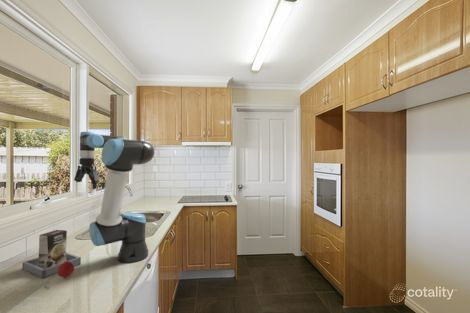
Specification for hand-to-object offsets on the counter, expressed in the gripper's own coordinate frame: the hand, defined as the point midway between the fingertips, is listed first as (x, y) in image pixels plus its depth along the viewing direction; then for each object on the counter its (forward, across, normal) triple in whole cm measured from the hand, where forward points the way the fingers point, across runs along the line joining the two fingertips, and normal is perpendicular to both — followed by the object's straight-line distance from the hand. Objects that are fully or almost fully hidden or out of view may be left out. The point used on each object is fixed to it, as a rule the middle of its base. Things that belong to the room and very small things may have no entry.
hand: (86, 193), depth 140 cm
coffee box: (+31, -12, +23) cm, 41 cm away
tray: (+32, -12, +23) cm, 41 cm away
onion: (+32, -29, +26) cm, 50 cm away
